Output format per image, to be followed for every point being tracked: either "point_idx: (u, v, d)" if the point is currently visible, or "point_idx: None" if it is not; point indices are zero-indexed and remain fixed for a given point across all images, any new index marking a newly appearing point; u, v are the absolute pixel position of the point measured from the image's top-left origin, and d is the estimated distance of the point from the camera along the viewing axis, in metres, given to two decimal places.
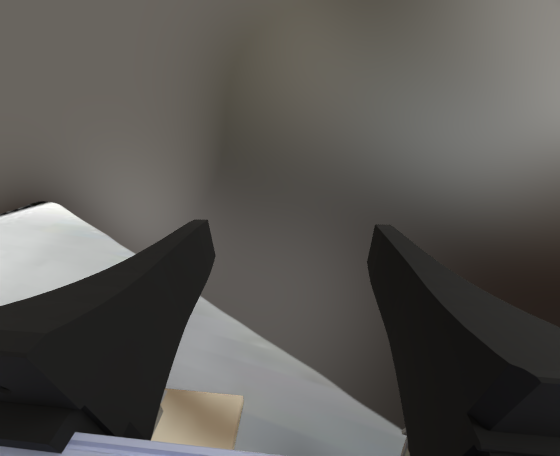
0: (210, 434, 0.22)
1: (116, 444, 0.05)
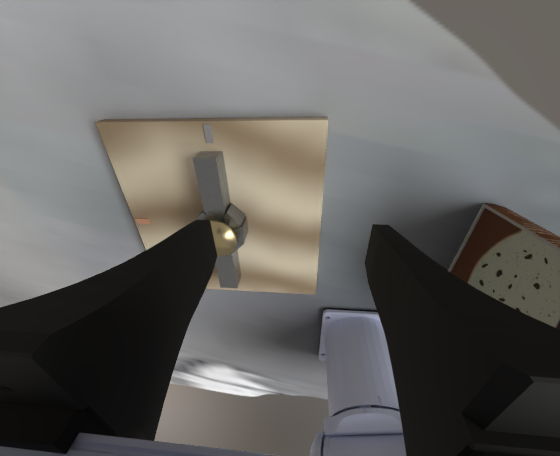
0: (294, 170, 0.18)
1: (116, 444, 0.05)
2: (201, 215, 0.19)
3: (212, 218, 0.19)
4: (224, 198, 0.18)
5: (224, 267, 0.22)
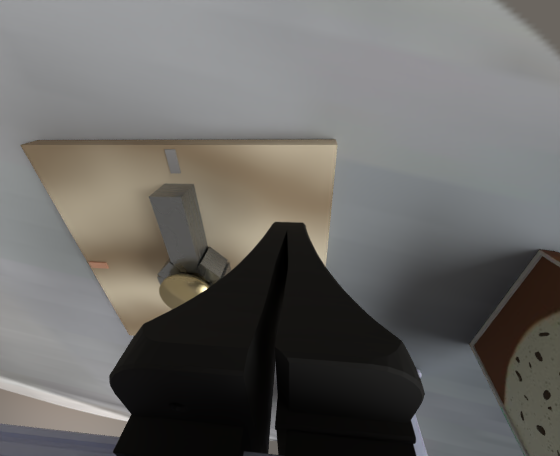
0: (290, 209, 0.13)
1: (116, 444, 0.05)
2: (167, 265, 0.14)
3: (182, 269, 0.14)
4: (197, 245, 0.14)
5: None
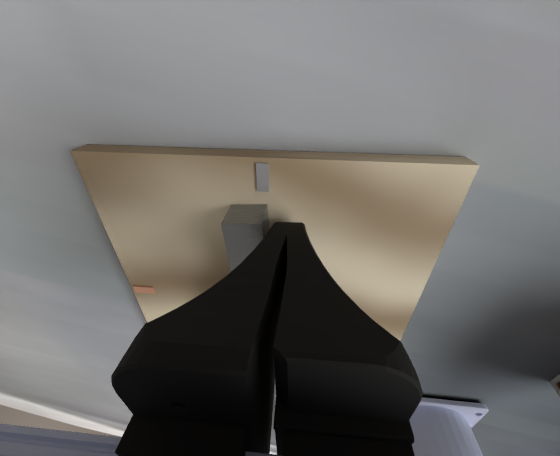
0: (395, 237, 0.11)
1: (116, 444, 0.05)
2: None
3: None
4: None
5: None
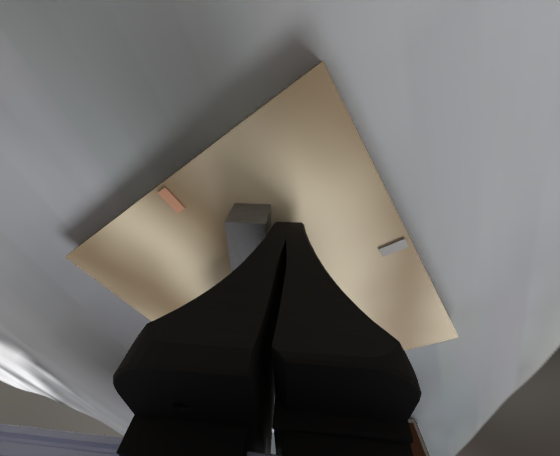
0: None
1: (116, 444, 0.05)
2: None
3: None
4: None
5: None
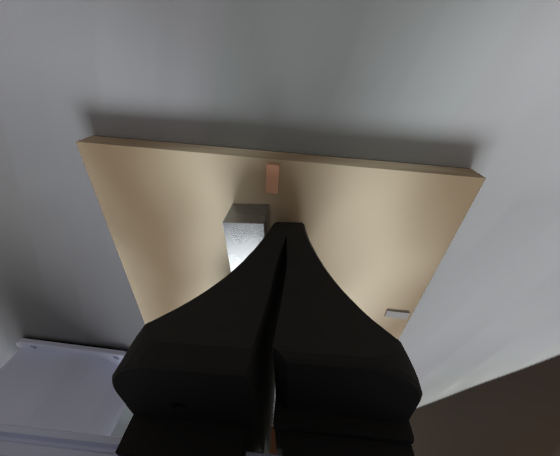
0: None
1: (116, 444, 0.05)
2: None
3: None
4: None
5: None
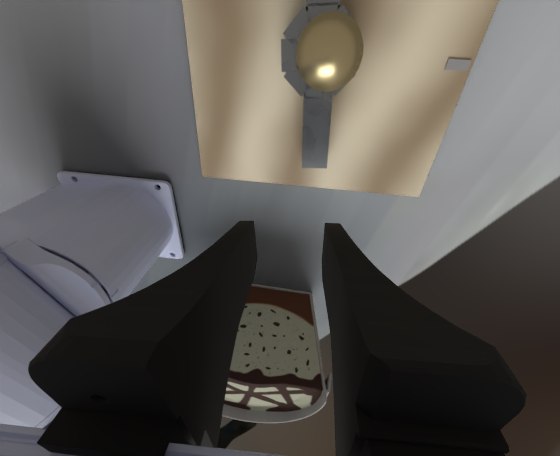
0: (379, 164, 0.17)
1: (116, 444, 0.05)
2: (299, 14, 0.12)
3: None
4: None
5: (315, 126, 0.15)
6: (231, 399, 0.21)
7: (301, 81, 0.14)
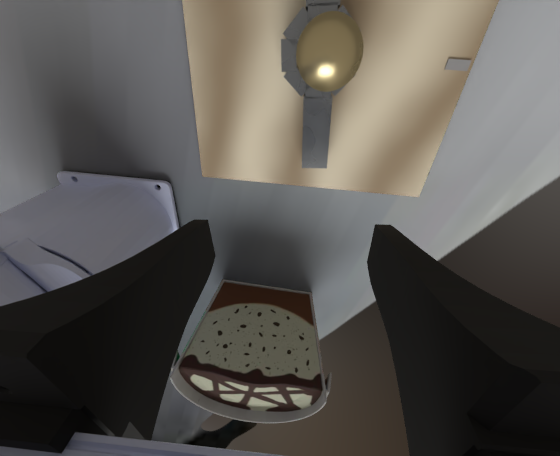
0: (379, 164, 0.17)
1: (116, 444, 0.05)
2: (299, 14, 0.12)
3: None
4: None
5: (315, 126, 0.15)
6: (231, 399, 0.21)
7: (301, 81, 0.14)
